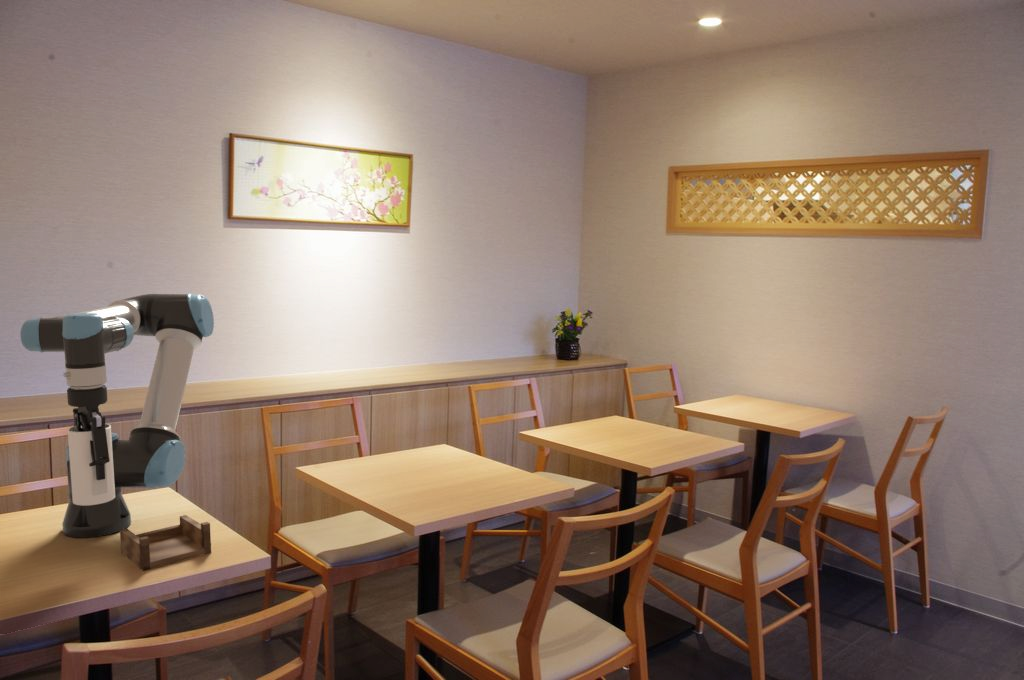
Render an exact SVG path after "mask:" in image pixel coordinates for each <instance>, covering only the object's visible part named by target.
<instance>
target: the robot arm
mask: <svg viewBox="0 0 1024 680" xmlns="http://www.w3.org/2000/svg"><path fill="white" fill-rule="evenodd" d="M214 320H215V319H214V312H213V309H212V304H211V303H210V301H209V299H208V298H207V297H206V296H205V295H203V294H199V293H198V294H196V293H193V294H192V293H184V294H183V293H176V294H175V293H147V294H142V295H136V296H131V297H128V298H123V299H119V300H115V301H113V302H110V304H108V305H107V306H105V307H100V308H99V307H98V308H96V309H90V310H86V311H81V312H76V313H75V312H74V313H69V314H65V315H61V316H55V317H47V318H43V317H38V318H28V319H26V320H25V321H24V322H23V324H22V325H21V328H20V342H21V344H22V346H23V348H24V349H25V350H27V351H29V352H40V353H48V352H49V353H51V352H56V353H59V352H61V353H62V352H64V360H65V361H64V362H65V364H64V365H65V371H66V372H63V374H62V376H63V377H64V378H65V379H66V386H68V388H67V389H66V397H67V404H68V406H69V407H73V409H72V413H73V426H77V429H78V431H79V432H88V431H92V439H93V441H91V440H90V449H91V457H92V463H90V464H89V466H91V473H92V488H93V495H99V494H104V493H108V489H107V474H106V463H107V462H109V460H110V459H109V453H108V445H107V437H106V428H105V423H106V416H105V415H102V412H100V410H99V406H100V405H104V404H106V403H107V402H108V387H107V386H106V385H105V384H106V383H107V382H108V381H107V366H106V359H105V357H106V356H105V355H106V354H109V353H112V352H119V351H121V350H122V349H125V348H127V347H128V346H130V345H131V343H132V342H133V340H134V336H143V337H144V336H145V337H155V340H156V341H158V344H159V345H158V349H157V352H156V356H155V361H154V363H153V364H154V365H153V368H152V373H151V376H150V381H149V385H148V388H147V393H146V397H145V399H144V400H145V401H144V404H143V409H142V413H141V417H140V421H139V424H138V425H137V426H135V427H133V428H132V429H130V430H131V431H130V434H129V437H128V439H123V440H122V439H120V436H119V434H118V433H116V432H111V436H112V452H113V468H114V483H115V498H114V499H113V500H111V501H108V502H105V503H102V504H97V505H87V506H82V505H76V504H74V503H73V499H72V485H71V471H70V457H69V443H68V444H67V446H66V450H65V451H66V454H65V456H66V457H65V463H66V472H67V485H68V502H67V503H68V505H67V507H66V511H65V515H64V517H63V522H62V533H63V534H64V535H65V536H68V537H71V538H93V537H94V538H95V537H102V536H106V535H111V534H114V533H117V532H120V530H122V529H126V528H128V527H129V526H130V525H131V523H132V518H131V512H130V510H129V507H128V505H127V503H126V501H125V498H124V496H123V492H122V488H131V489H132V488H142V489H144V488H145V489H147V488H148V489H156V488H167V487H170V486H172V485H173V484H174V483H176V482H177V481H178V479H179V478H180V476H181V474H182V472H183V469H184V467H185V462H186V456H185V454H186V447H185V446H184V444H183V442H182V441H181V436H180V435H179V434H178V432H177V431H176V429H177V424H178V420H179V417H180V416H179V415H180V411H181V407H182V403H183V397H184V394H185V390H186V384H187V380H188V377H189V376H188V375H189V372H190V369H191V368H190V367H191V363H192V358H193V354H194V351H195V350H197V349H199V348H200V347H201V344H202V342H203V338H209V337H210V336H211V335H213V332H214V326H215V325H214V324H215V322H214ZM100 457H102V458H100Z"/></svg>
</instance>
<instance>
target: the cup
mask: <svg viewBox="0 0 1024 680" xmlns="http://www.w3.org/2000/svg"><path fill="white" fill-rule="evenodd" d="M105 428H106V437H107V445H108V453H109V459H110V460H109V462H107V463H106V474H107V489H108V493H104V494H99V495H93V488H92V473H91V466H89V464H90V463H92V457H91V449H90V440H91V441H93V439H92V431H88V432H79V431H78V429H77V426H74V425H73V426H71V427H69V428H68V429H67V441H68V444H69V457H70V471H71V485H72V499H73V503H74V504H76V505H82V506H87V505H97V504H102V503H105V502H108V501H111V500H113V499H114V498H115V483H114V468H113V452H112V436H111V433H112V426H111V424H109V423H106V422H105ZM100 458H102V457H100Z"/></svg>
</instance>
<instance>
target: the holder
mask: <svg viewBox="0 0 1024 680" xmlns="http://www.w3.org/2000/svg"><path fill="white" fill-rule="evenodd" d="M119 537H120V553H121V555H123V557H126V559H128V560H129V561H130V562H132V563H133V565H135V566H137V567H138V569H140V570H141V571H142V572H144V571H149V570H152V569H155V568H160V567H164V566H167V565H172V564H174V563H179V562H182V561H185V560H190V559H194V558H197V557H201V556H205V555H208V554H211V553H212V539H211V523H210V522H208V521H205V522H202V523H200V522H199V521H197V520H195V519H194V518H192V517H190V516H189V515H186V514H183V515H179V524H176V525H171V526H167V527H163V528H159V529H155V530H151V531H146V532H143V533H137V534H135V533H134V532H133V531H131V530H130V529H128V527H126V528H125V529H122V530H120V531H119Z"/></svg>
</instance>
